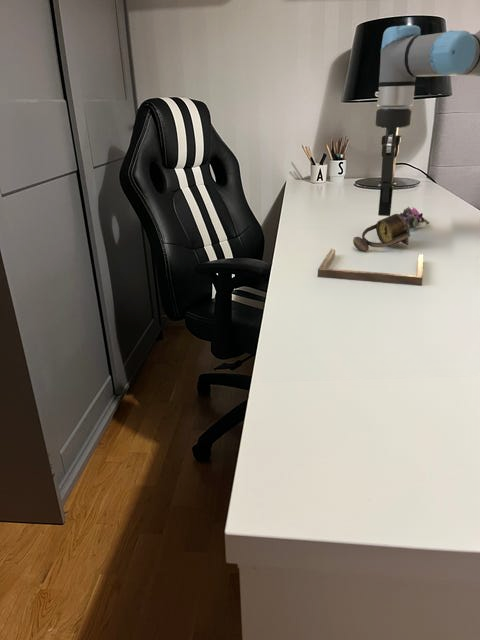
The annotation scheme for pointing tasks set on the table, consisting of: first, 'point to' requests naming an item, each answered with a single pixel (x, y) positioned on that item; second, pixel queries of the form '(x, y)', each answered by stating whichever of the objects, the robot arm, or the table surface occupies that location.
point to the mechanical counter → (385, 233)
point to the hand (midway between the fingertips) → (384, 215)
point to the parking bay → (370, 273)
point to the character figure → (413, 217)
